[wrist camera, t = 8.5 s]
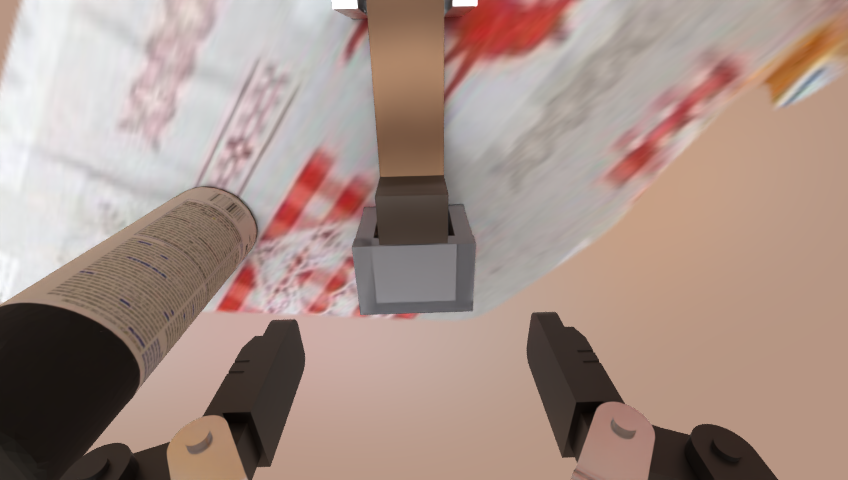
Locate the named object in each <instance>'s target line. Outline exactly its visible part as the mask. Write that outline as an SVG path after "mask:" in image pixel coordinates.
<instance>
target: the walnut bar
mask: <svg viewBox="0 0 848 480" xmlns="http://www.w3.org/2000/svg"><path fill="white" fill-rule="evenodd" d="M366 4H367V16H368V29H369V42H370V54H371V67H372V80H373V92H374V105H375V118H376V130H377V143H378V156H379V168H380V179H379V183H378V187H377V191H376V195H375V202H376V213H377V225H378V236H379V245H399V244H432V243H448V192H447V187H446V183H445V179H444V0H366Z"/></svg>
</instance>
